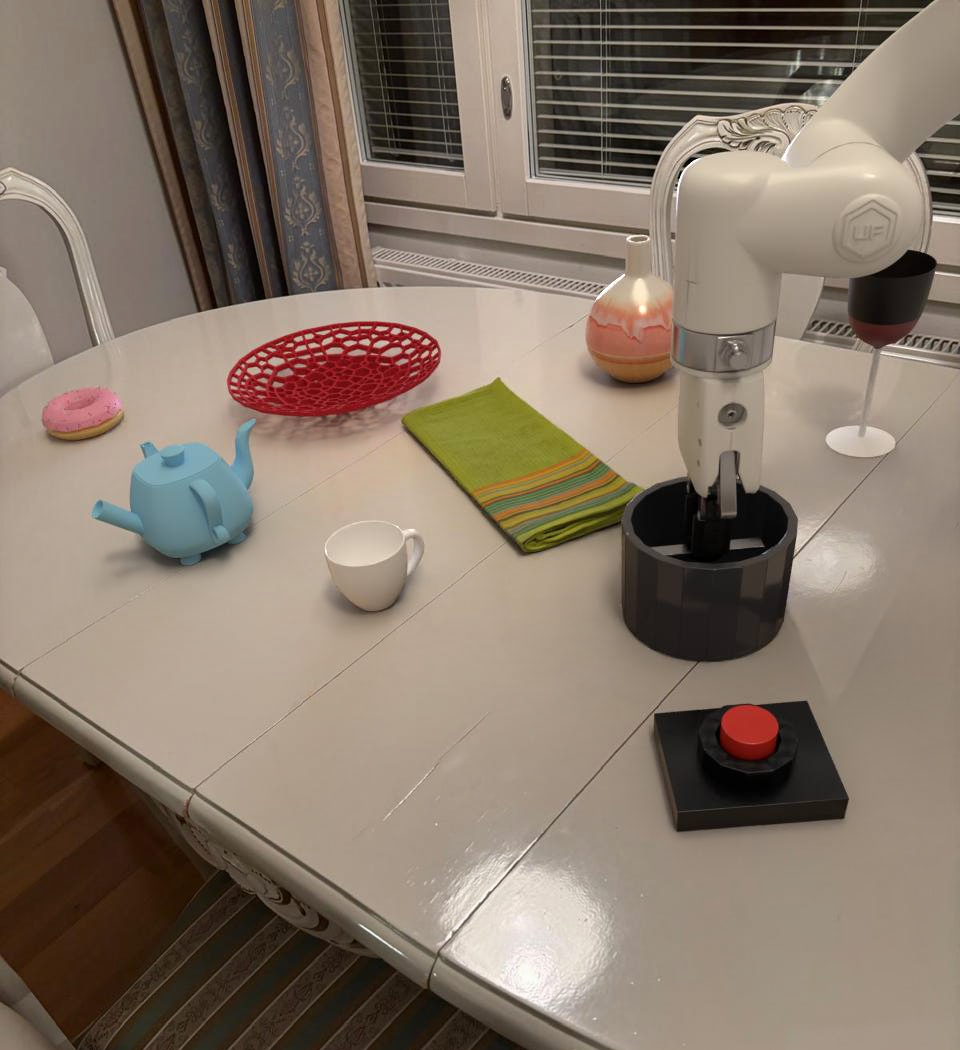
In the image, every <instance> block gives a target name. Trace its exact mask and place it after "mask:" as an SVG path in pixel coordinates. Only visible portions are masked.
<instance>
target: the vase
mask: <svg viewBox="0 0 960 1050" xmlns="http://www.w3.org/2000/svg"><path fill="white" fill-rule="evenodd" d="M672 306H673V285H671V284H670V283H668V282H667V281H666V280H665V279H663V278H661V277H660V276H659V275H657V274H655V273H654V272H652V238H651V236H649V235H644V234H635V235H631V236H629V237H627V238H626V242H625V270H624V273H623V274H622V275H621V276H620V277H618V278H617V279H615V280H614V281H613V282H611V283H610V284H609V285H608V286H606V287H605V289H603V291H602V292H600V294H598V296H597V298H596V299H595V301H594V302H593V304H592V306H591V308H590V311H589V312H588V315H587V319H586V324H585V334H584V335H585V343H586V348H587V351H588V353H589V356H590V357H591V359H592V360H593V361H594V363H595V364H596V365H597V367H599V368H600V369H601V370H602V371H604V372H605V373H607V374H608V375H610V376H611V377H612V378H613V379H614V380H617V381H619V382H623V383H630V384H631V383H632V384H639V383H640V384H641V383H647V382H650V381H651V382H652V381H654V380H656V379H658V378H660V377H661V376H662V375H663V374H664V373H666V372H667V371H668V370H670V369H671V368H672V367H674V366H673V365H672V364H671V362H670V352H671V329H672Z"/></svg>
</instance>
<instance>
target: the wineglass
mask: <svg viewBox="0 0 960 1050" xmlns="http://www.w3.org/2000/svg"><path fill="white" fill-rule="evenodd" d="M937 265H938V261H937V259H936V258H935V257H934V256H933V255H931V254H928V253H927V252H923V251H919V250H913V249H908V250H907V251H906V253H905V254H904V255H903V256H902V257H901V258H900V259H898V260H897V261H896V262H895V263H893V264H892V265H890V266H888V267H887V268H885V269H883V270H881V271H879V272H876V273H874V274H871V275H867V276H862V277H857V278H848V289H847V318H848V322H849V327H850V329H851V331H852V333H853V334H854V335H855V336H856V337H857V338H858V339H859V340H860V341H862V342H863V343H864V344H867V345H869V346H871V347H873V351H872V356H871V362H870V367H869V372H868V378H867V383H866V389H865V394H864V400H863V406H862V410H861V416H860V421H859V425H846V426H841V427H838V428H835V429H833V430H831V431H830V432H828V434H826V438H825V442H826V445H827V446H828V447H829V448H830V449H831V450H832V451H834V452H835V451H836V453H839V454H842V455H844V456H849V457H854V458H856V457H857V458H874V457H879V456H884V455H886V454H888V453H890V452H891V451H893V450H894V449H895V447H896V443H897V442H896V440H895V438H894V437H893V436H892V435H891V434H890V433H889V432H887V431H885V430H883V429H881V428H877V427H874V426H868V422H869V417H870V411H871V406H872V405H871V404H872V400H873V395H874V389H875V386H876V385H875V384H876V380H877V379H876V378H877V376H878V375H877V374H878V369H879V363H880V358H881V353H882V349H883V348H884V347H886V346H889V345H893V344H895V343H896V342H898V341H900V340H903V339H904V338H905V337H907V335H909V334H910V333H911V332H912V331H913V330H914V328H915V327H916V326H917V324H918V322H919V321H920V319H921V317H922V315H923V312H924V310H925V308H926V306H927V302H928V299H929V296H930V293H931V289H932V286H933V282H934V278H935V274H936V269H937Z"/></svg>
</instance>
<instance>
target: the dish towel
mask: <svg viewBox="0 0 960 1050" xmlns="http://www.w3.org/2000/svg"><path fill="white" fill-rule="evenodd" d="M400 422H401V424H402V425H403V426H404V427H405V428H406V429H407V430H408V431H409V432H410V433H411V434H412V435H413V436H414V437H415V439H417V440H418V441H419V442H420V443H421V444H422V445H423V446H424V447H425V449H427V450H428V451H429V452H430V453H431V454H432V455H433V456H434V457H435V458H436V460H437V461H438V462H439V463H440V464H441V465H442V466H443V467H444V468H445V469H446V470H447V471H448V473H449V474H450V475H451V476H452V477H453V478H454V479H455V480H456V482H457V483H458V484H459V485H460V486H461V488H463V490H464V491H466V493H467V494H468V495H469V496H470V497H471V498H472V499H473V500H474V501H475V502H476V503H477V504H478V505H479V506H480V507H481V509H483V510H484V512H486V514H487V515H488V516H489V517H490V519H492V520H493V521H494V523H496V524H497V525H498V526H499V527H500V529H501V530H502V531H503V532H504V533H505V534H506V535H507V536H508V537H509V538H510V539H511V540H512V541H514V542H515V543H516V544H517V545H518V547H519V548H520V549H521V550H522V551H523V552H524V553H536V552H540V551H544V550H547V549H549V548H552V547H555V546H558V545H560V544H562V543H565V542H568V541H570V540H573V539H575V538H579V537H581V536H584V535H589V534H591V533H593V532H595V531H599V530H602V529H604V528H607V527H610V526H612V525H615V524H617V523H620V522H622V517H623V514H624V511H625V508H626V505H627V504H628V503H629V502H630V501H631V500H632V499H633V498H634V497H635V496H636V495H637V494H638V493H640V492H642V491H644V490H645V489H646V488H643V487H642V486H639V485H637V484H636V483H634V482H630V481H627V480H626V478H624V477H623V476H621V475H620V474H619V473H618V472H616V471H615V470H614V469H612V468H611V466H610V465H607V463H605V462H604V461H603V460H602V459H600V458H599V457H597V456H596V455H595V454H593V452H591V451H590V450H589V449H588V448H586V447H585V446H583V445H582V444H581V443H579V442H578V441H577V440H576V439H575V438H573V437H572V436H571V435H570V434H569V433H567V432H566V431H565V430H564V429H562V428H560V427H559V426H558V425H556V424H554V423H553V422H552V421H551V420H550V419H548V418H547V417H545V416H544V414H542V413H540V412H539V411H538V410H536V409H535V408H534V407H533V406H531V405H530V404H529V403H528V402H527V401H526V400H524V399H523V398H521V397H520V396H519V395H517V394H516V393H515V392H514V391H513V390H511V388H510V387H508V385H506V384H505V382H504V381H503V380H502V379H501V377H500V376H497V377H496V378H495V379H494V380H493V381H492V382H490V383H488V384H486V385H483V386H480V387H477V388H475V389H473V390H470V391H468V392H465V393H462V394H460V395H457V396H454V397H450V398H446V399H444V400H441V401H437V402H435V403H431V404H428V405H425V406H421V407H418V408H416V409H414V410H412V411H409V412H407V413H405V414H404V415H403V416H402V418H401V419H400Z"/></svg>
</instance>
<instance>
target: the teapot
mask: <svg viewBox="0 0 960 1050" xmlns="http://www.w3.org/2000/svg"><path fill="white" fill-rule="evenodd" d="M256 423H257V419H256V418H252V419H250V420H248V421H246V422H245V423H244V424H241V426H240V427H239V428H238V430H237V431H236V434H235V438H234V448H235V449H234V450H235V457H234V461H233V463H232V464H231V466H230V464H228V462H227V461H226V460H225V459H224V458H223V457H222V456H221V455H220V454H219V453H218V452H217V451H216V450H214V449H213V448H211V447H210V446H209V445H207V444H204V443H202V442H198V441H191V442H186V443H181V444H170V445H167V446H165V447H163V448H162V449H160V451H159V449H157V447H156V446H155V444H154V443H153V442H151V440H147V441H144V442H141V443H139V446H140V448H141V451H142V455H143V457H144V459H142V460H140V461H139V462H138V463H136V464H135V466H133V468H132V471H131V476H130V477H131V478H130V485H129V508H130V509H129V510H130V511H129V510H127V509H125V508H122V507H120V506H117V505H115V504H113V503H110V502H107V501H105V500H103V499H99V500H97V501H96V502H95V503H94V505H93V507H92V511H91V517H92V519H94V520H97V521H100V522H103V523H106V524H108V525H111V526H114V527H116V528H118V529H119V528H120V529H123V530H125V531H128V532H130V533H134V534H137V535H139V536H140V537H141V538H142V539H143V541H144V542H146V543H147V544H148V545H149V546H150V547H152V549H155V551H156V550H157V552H159V553H161V554H162V555H164V556H166V557H169V558H173V559H180V564H181V565H184V566H191V565H195V564H197V563H199V562H200V561H201V559H202V553H204V552H207V551H210V550H213V549H215V548H217V547H219V546H222V545H224V544H226V543H227V544H229V545H235V544H239V543H241V542H243V541H244V540H245V539H246V537H247V535H246V533H244V531H245V530H246V529H247V528H248V526H249V525H250V523H251V521H252V518H253V513H254V503H253V500H252V497H251V495H250V493H249V489H250V488H251V486H252V484H253V481H254V477H255V476H254V475H255V469H254V461H253V458H252V453H251V448H250V435H251V432H252V430H253V428H254V426H255V424H256Z"/></svg>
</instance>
